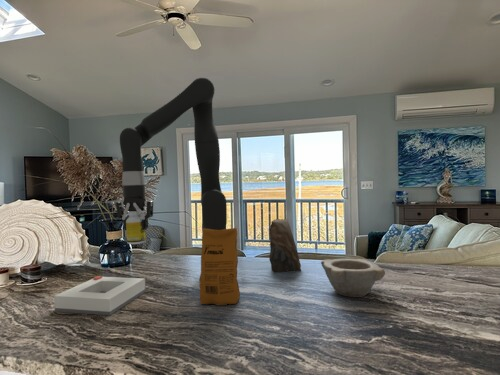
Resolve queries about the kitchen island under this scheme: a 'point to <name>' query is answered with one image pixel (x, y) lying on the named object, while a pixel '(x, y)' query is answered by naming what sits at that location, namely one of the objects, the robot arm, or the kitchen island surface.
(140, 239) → the pill bottle
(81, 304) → the socket block
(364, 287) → the mortar
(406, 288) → the kitchen island surface
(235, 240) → the coffee package
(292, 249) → the brown rock
